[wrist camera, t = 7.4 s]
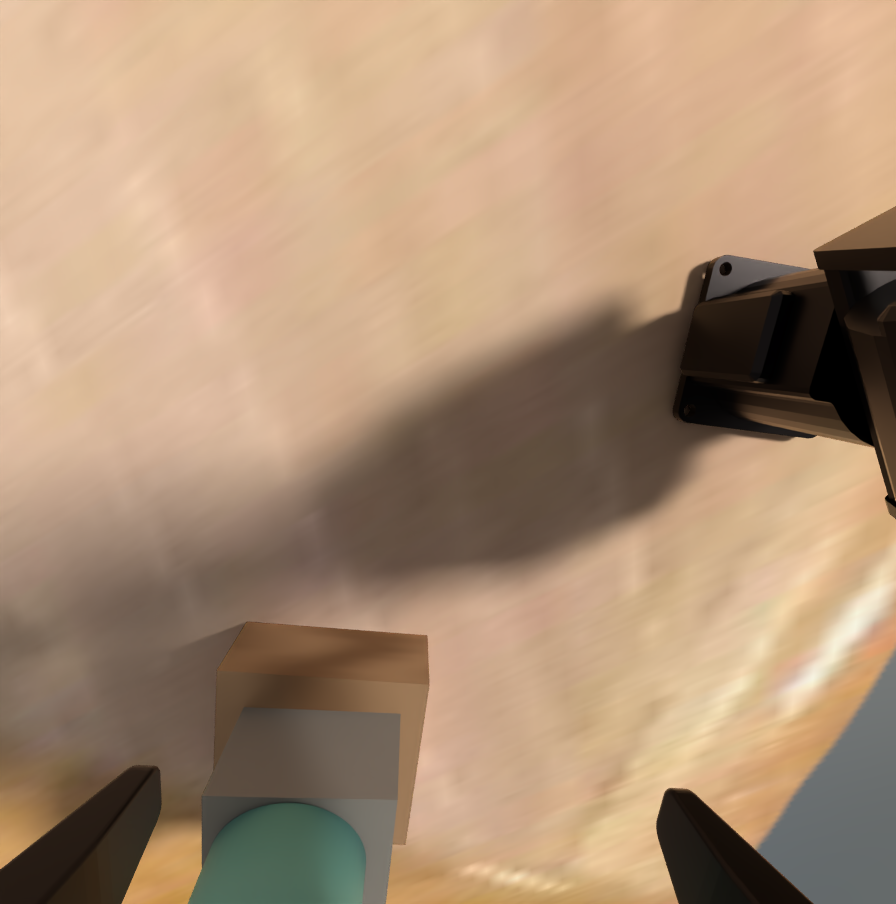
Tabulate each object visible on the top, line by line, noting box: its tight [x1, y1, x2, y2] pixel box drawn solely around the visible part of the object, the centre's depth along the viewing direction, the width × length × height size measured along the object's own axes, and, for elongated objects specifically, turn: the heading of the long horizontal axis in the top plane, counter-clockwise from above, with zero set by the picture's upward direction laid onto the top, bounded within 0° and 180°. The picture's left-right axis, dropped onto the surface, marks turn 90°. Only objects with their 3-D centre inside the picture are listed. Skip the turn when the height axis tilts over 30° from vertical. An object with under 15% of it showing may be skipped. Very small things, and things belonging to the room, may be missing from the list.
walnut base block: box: [214, 622, 429, 845], centre depth 20 cm, size 8×8×4 cm
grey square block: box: [202, 707, 401, 904], centre depth 16 cm, size 6×6×4 cm
